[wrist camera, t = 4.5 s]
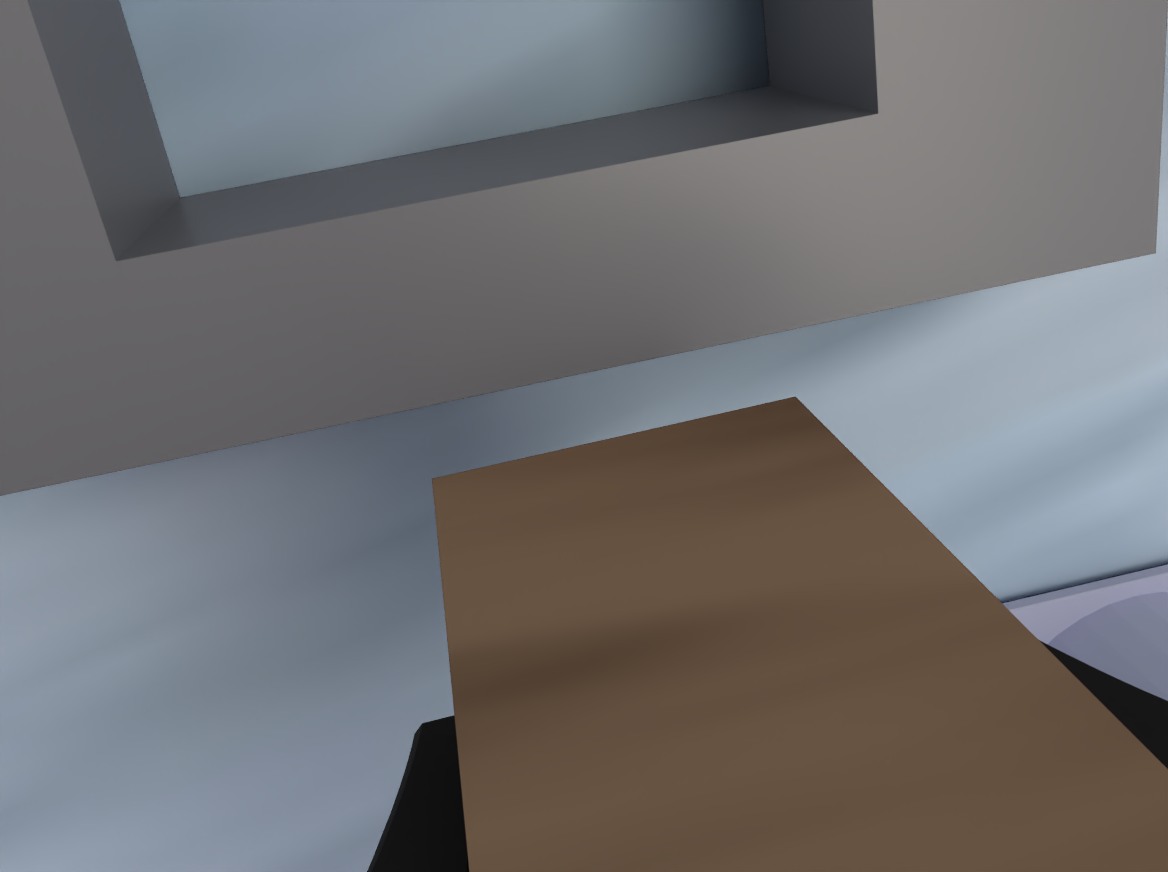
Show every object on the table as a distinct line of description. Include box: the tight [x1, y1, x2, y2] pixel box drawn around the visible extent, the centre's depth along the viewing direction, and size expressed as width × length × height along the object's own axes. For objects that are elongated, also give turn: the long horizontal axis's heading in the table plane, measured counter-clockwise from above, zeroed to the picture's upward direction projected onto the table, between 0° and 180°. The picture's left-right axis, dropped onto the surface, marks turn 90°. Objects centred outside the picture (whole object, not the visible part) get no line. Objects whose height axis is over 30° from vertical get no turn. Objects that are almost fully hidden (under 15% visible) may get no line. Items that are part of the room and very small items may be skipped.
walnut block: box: [432, 397, 1168, 872], centre depth 12 cm, size 5×5×9 cm
